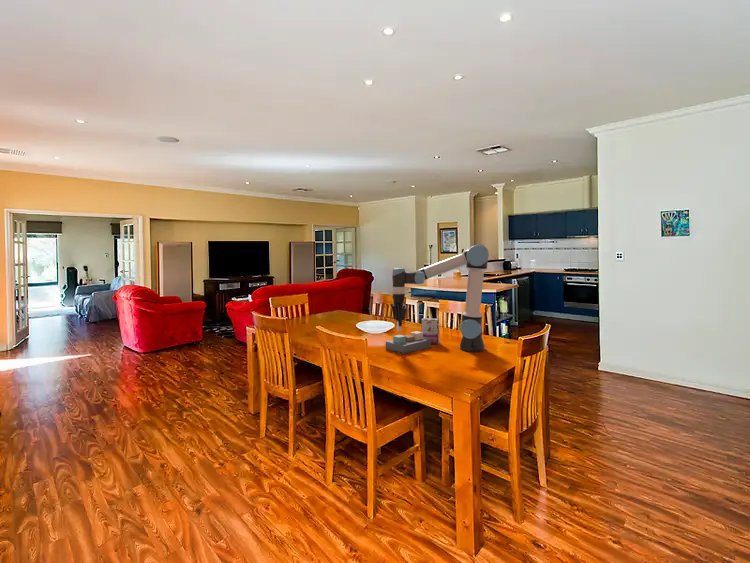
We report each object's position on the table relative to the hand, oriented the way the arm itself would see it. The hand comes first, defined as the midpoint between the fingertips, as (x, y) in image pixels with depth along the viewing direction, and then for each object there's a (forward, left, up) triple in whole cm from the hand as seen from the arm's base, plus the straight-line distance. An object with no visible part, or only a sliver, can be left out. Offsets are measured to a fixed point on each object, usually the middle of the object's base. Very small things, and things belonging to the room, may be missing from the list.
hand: (399, 331), depth 250 cm
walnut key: (0, -8, -9) cm, 12 cm away
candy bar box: (-1, -27, -12) cm, 29 cm away
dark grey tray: (0, -8, -12) cm, 14 cm away
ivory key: (0, -15, -8) cm, 17 cm away
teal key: (0, 0, -8) cm, 8 cm away
